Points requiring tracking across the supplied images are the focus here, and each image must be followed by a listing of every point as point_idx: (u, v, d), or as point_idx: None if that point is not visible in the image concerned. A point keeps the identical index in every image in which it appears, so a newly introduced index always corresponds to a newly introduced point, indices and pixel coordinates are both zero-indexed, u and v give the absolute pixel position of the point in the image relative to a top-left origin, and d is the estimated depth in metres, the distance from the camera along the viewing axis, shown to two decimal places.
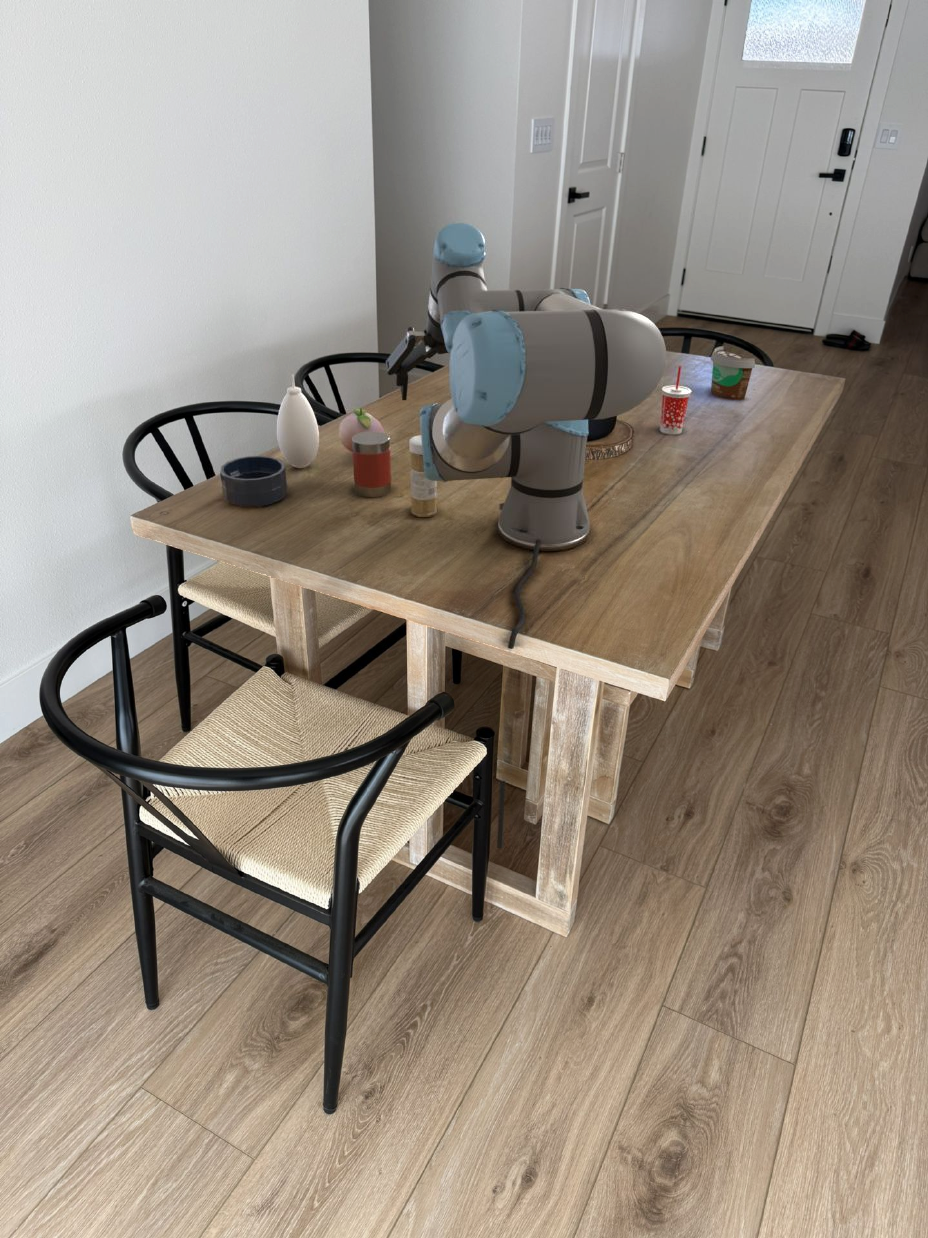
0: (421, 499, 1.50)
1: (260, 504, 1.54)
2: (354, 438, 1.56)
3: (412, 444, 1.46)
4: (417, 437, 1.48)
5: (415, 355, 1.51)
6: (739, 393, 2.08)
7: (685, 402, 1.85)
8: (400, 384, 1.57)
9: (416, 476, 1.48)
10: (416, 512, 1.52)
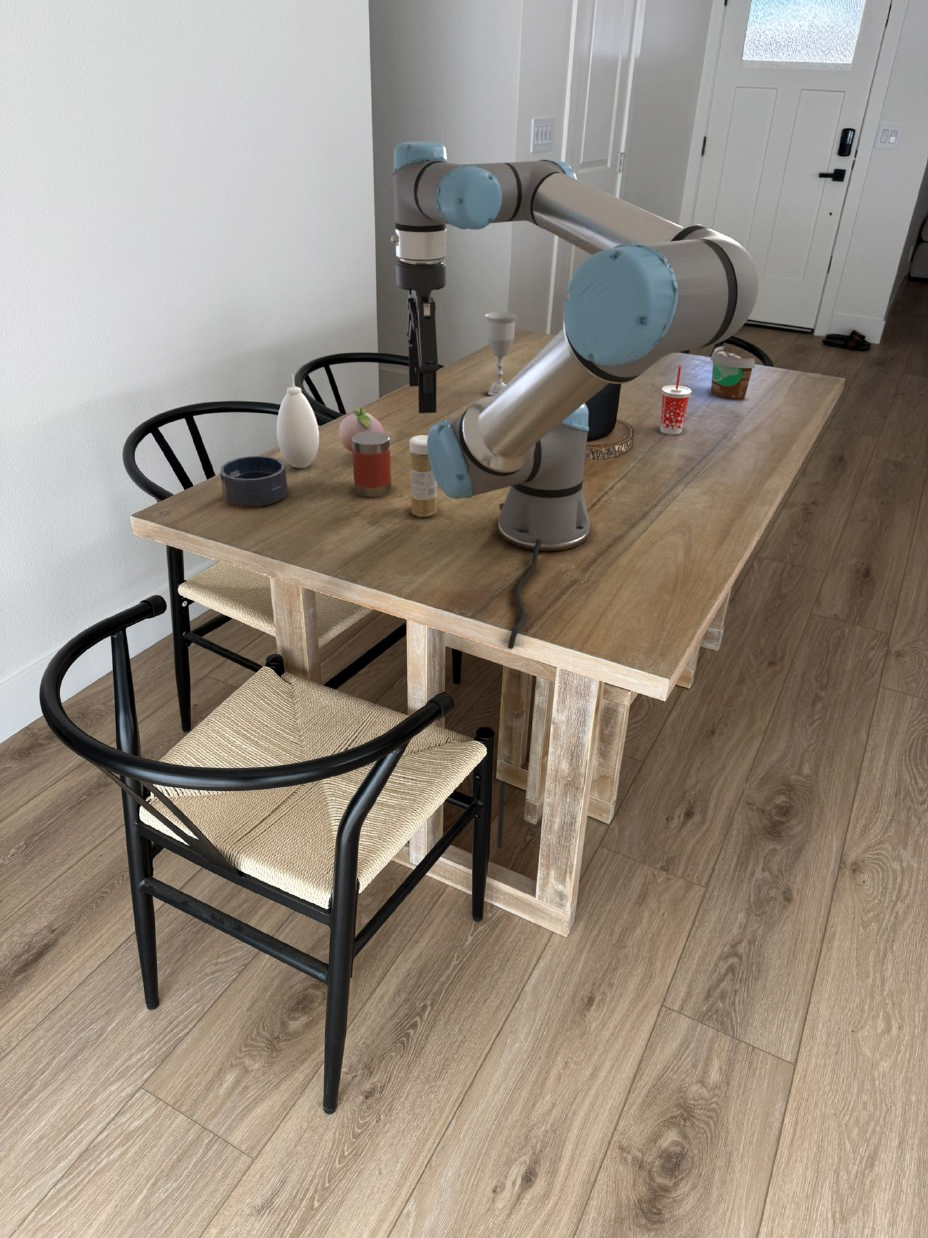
0: (421, 499, 1.50)
1: (260, 504, 1.54)
2: (354, 438, 1.56)
3: (411, 444, 1.46)
4: (417, 437, 1.48)
5: None
6: (739, 393, 2.08)
7: (685, 402, 1.85)
8: (432, 389, 1.35)
9: (416, 476, 1.48)
10: (416, 512, 1.52)
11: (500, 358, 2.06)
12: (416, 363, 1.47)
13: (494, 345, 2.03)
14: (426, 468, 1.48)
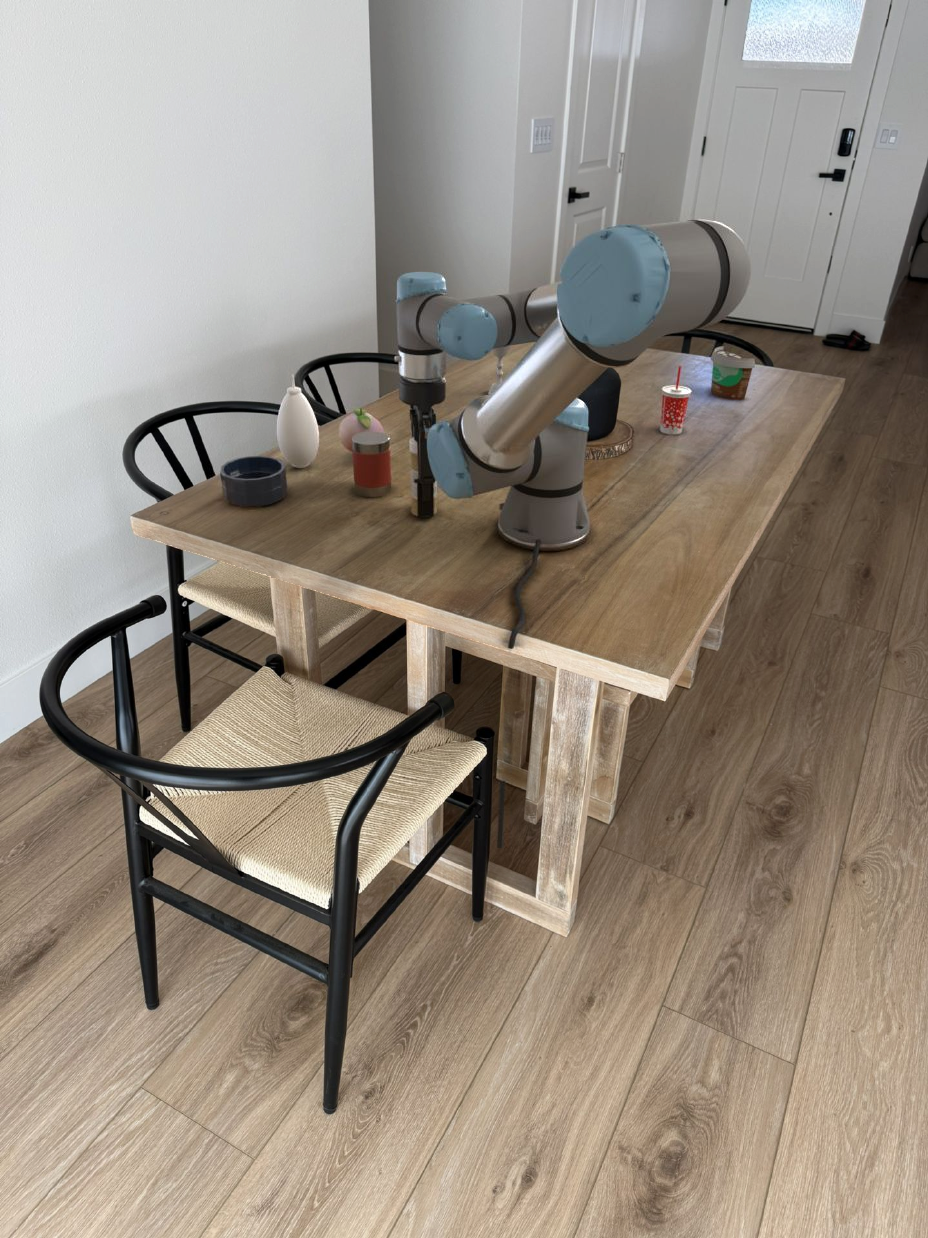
0: None
1: (260, 504, 1.54)
2: (354, 438, 1.56)
3: (412, 445, 1.46)
4: None
5: None
6: (739, 393, 2.08)
7: (685, 402, 1.85)
8: None
9: (416, 476, 1.48)
10: (416, 512, 1.52)
11: (500, 358, 2.06)
12: None
13: None
14: None
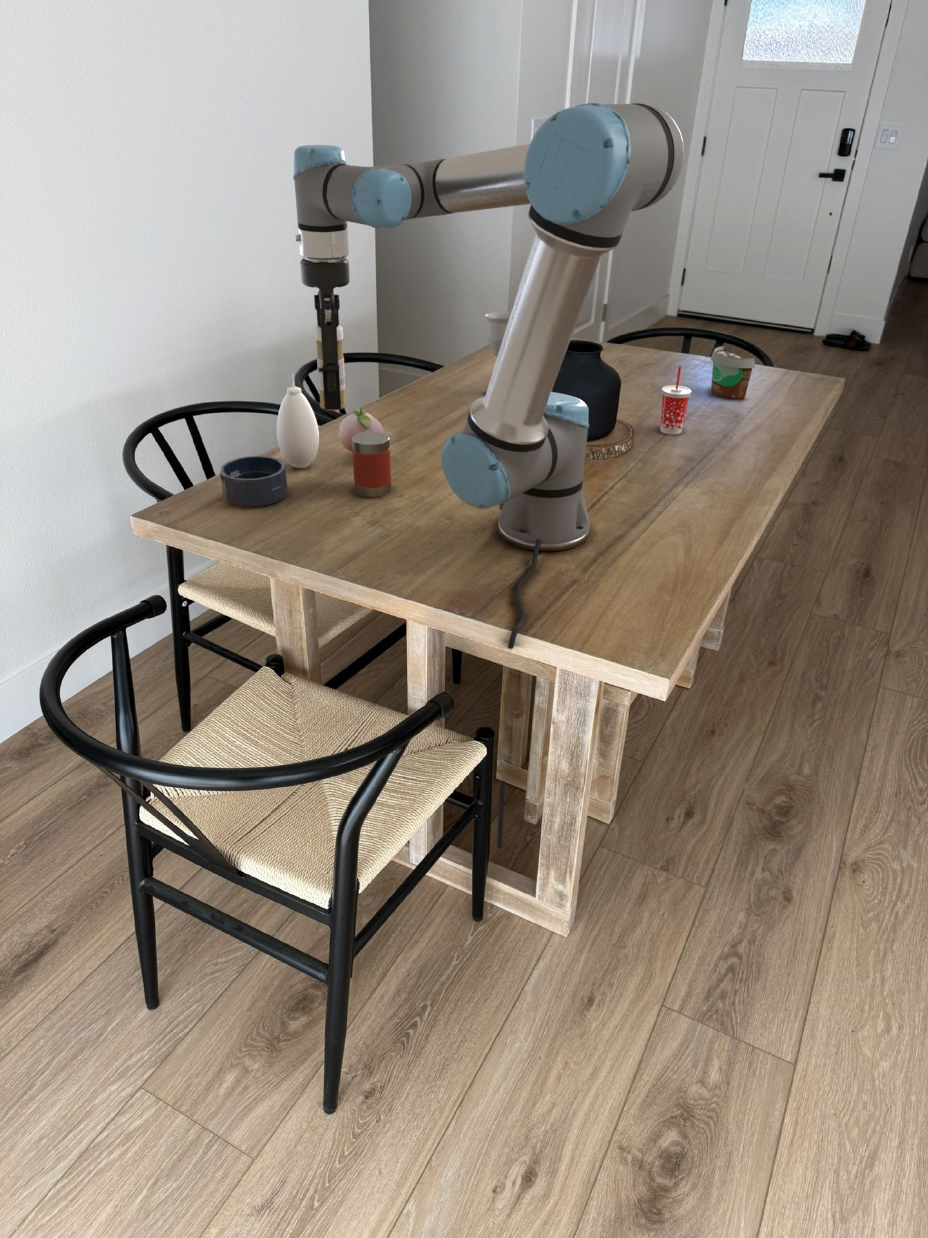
0: None
1: (260, 504, 1.54)
2: (354, 438, 1.56)
3: (316, 331, 1.42)
4: None
5: None
6: (739, 393, 2.08)
7: (685, 402, 1.85)
8: (336, 387, 1.45)
9: (322, 365, 1.45)
10: (324, 405, 1.49)
11: None
12: None
13: (494, 345, 2.03)
14: None
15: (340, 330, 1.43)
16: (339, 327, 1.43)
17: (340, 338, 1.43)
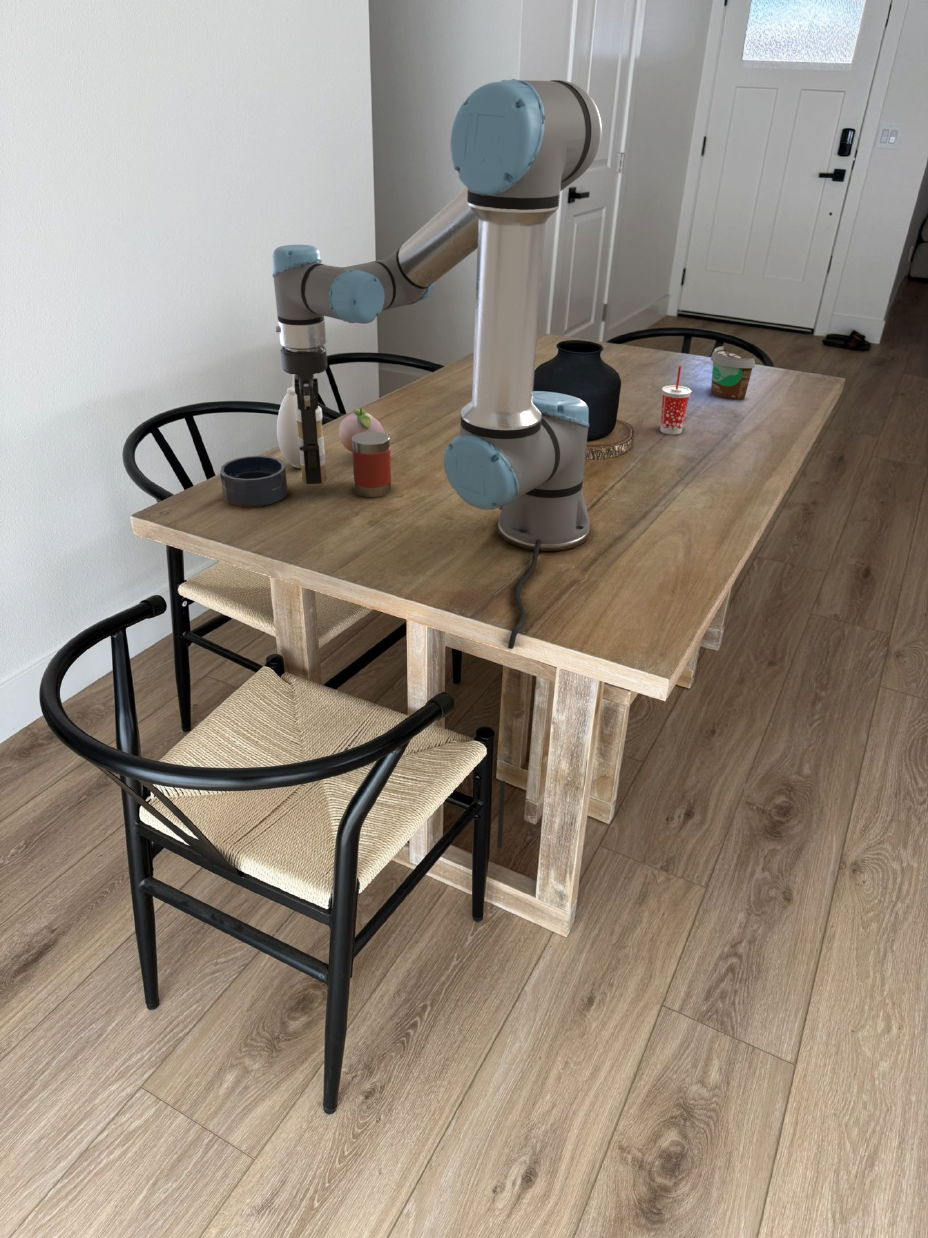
0: None
1: (260, 504, 1.54)
2: (354, 438, 1.56)
3: (296, 413, 1.51)
4: None
5: None
6: (739, 393, 2.08)
7: (685, 402, 1.85)
8: (316, 464, 1.54)
9: (302, 444, 1.54)
10: (305, 479, 1.57)
11: None
12: None
13: None
14: None
15: (319, 411, 1.52)
16: (318, 408, 1.52)
17: (319, 418, 1.52)
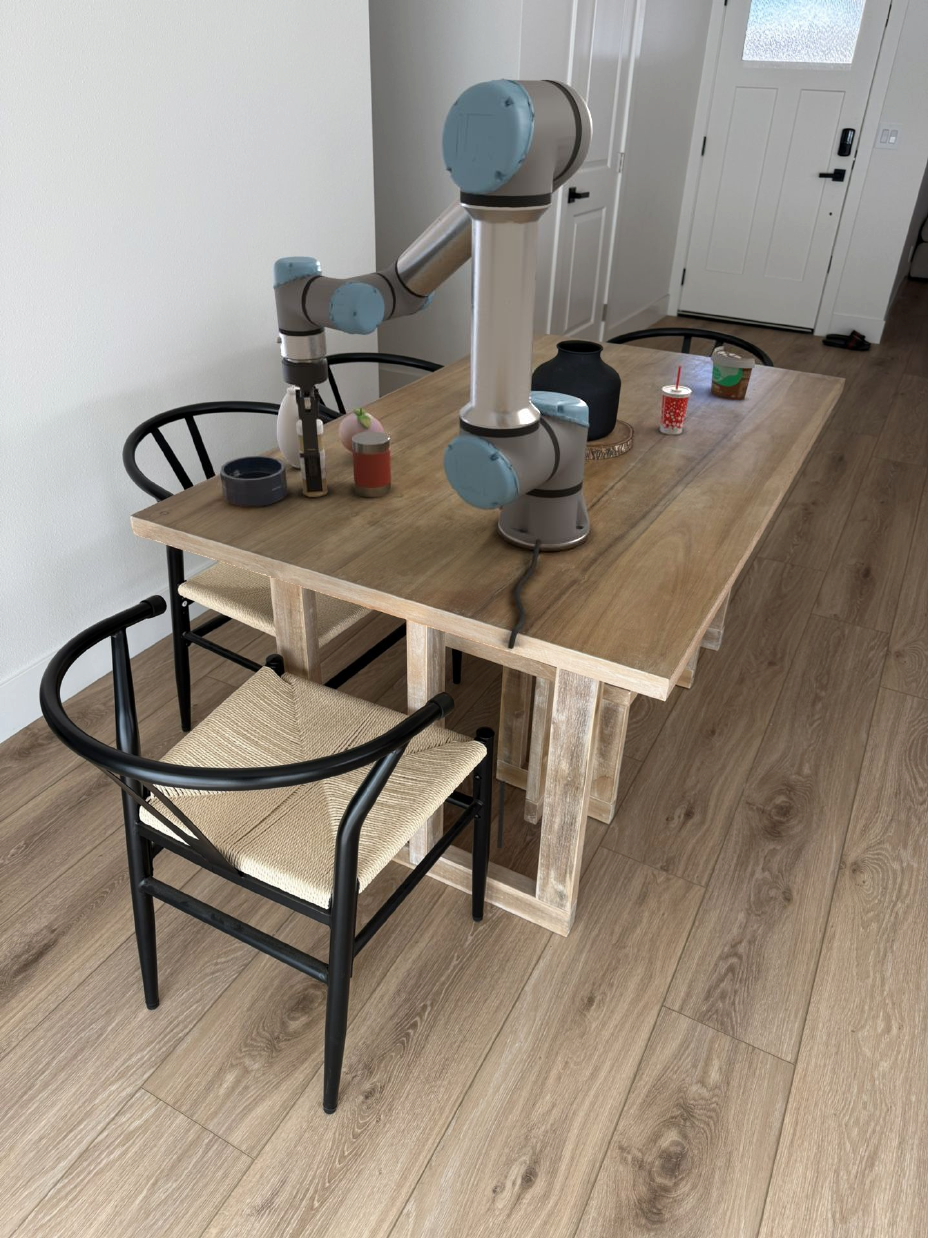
0: None
1: (260, 504, 1.54)
2: (354, 438, 1.56)
3: (298, 427, 1.52)
4: None
5: None
6: (739, 393, 2.08)
7: (685, 402, 1.85)
8: (317, 471, 1.50)
9: None
10: (306, 492, 1.59)
11: None
12: None
13: None
14: None
15: (320, 425, 1.53)
16: (319, 422, 1.53)
17: (320, 432, 1.53)
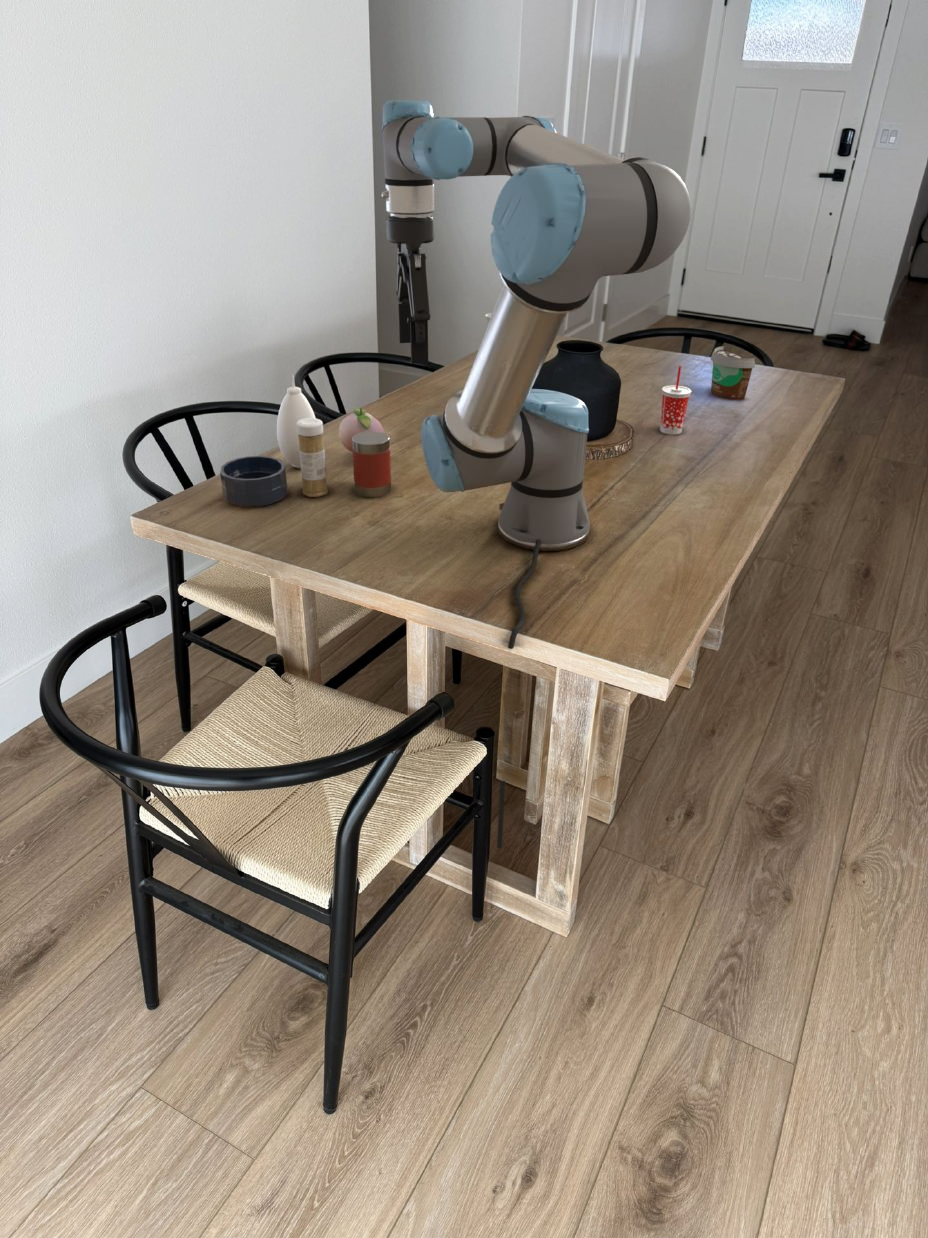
0: (310, 480, 1.57)
1: (260, 504, 1.54)
2: (354, 438, 1.56)
3: (298, 427, 1.52)
4: (304, 420, 1.54)
5: None
6: (739, 393, 2.08)
7: (685, 402, 1.85)
8: (424, 339, 1.41)
9: (304, 457, 1.55)
10: (306, 492, 1.59)
11: None
12: (406, 320, 1.52)
13: None
14: (313, 450, 1.54)
15: (320, 425, 1.53)
16: (319, 422, 1.53)
17: (320, 432, 1.53)
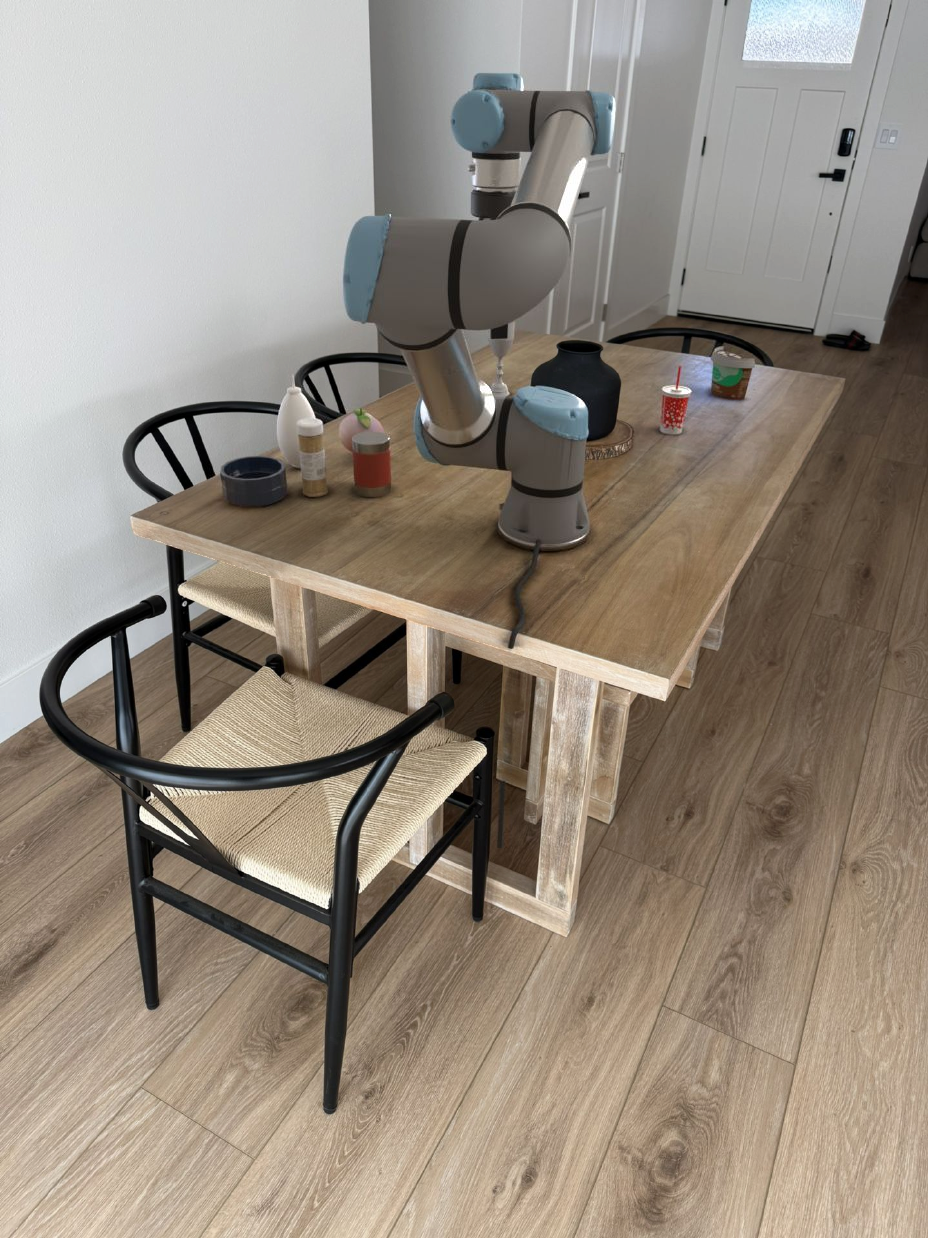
0: (310, 480, 1.57)
1: (260, 504, 1.54)
2: (354, 438, 1.56)
3: (298, 427, 1.52)
4: (304, 420, 1.54)
5: None
6: (739, 393, 2.08)
7: (685, 402, 1.85)
8: None
9: (304, 457, 1.55)
10: (306, 492, 1.59)
11: (500, 358, 2.06)
12: None
13: (494, 345, 2.03)
14: (313, 450, 1.54)
15: (320, 425, 1.53)
16: (319, 422, 1.53)
17: (320, 432, 1.53)
